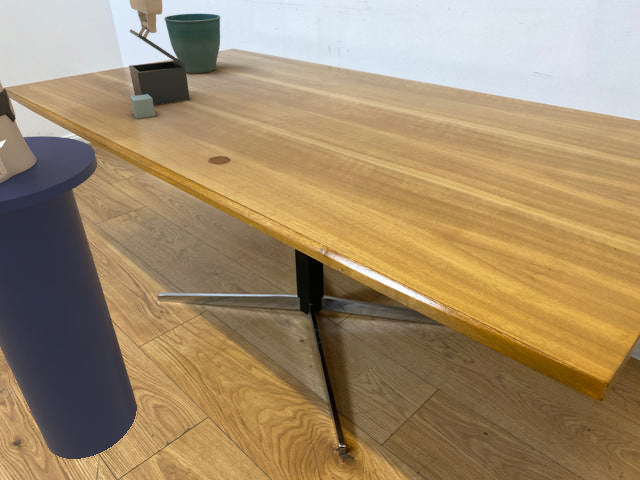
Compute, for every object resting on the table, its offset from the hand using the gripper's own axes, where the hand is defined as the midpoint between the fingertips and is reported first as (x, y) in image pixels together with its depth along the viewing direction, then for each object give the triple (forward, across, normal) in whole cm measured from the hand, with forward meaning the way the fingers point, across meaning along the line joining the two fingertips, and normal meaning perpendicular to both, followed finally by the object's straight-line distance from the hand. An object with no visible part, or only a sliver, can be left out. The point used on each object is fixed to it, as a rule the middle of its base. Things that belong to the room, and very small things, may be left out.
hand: (149, 30), depth 127 cm
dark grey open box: (+18, 0, +1) cm, 18 cm away
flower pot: (+17, -31, +22) cm, 42 cm away
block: (+18, +13, -7) cm, 23 cm away
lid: (+5, 0, +1) cm, 5 cm away
